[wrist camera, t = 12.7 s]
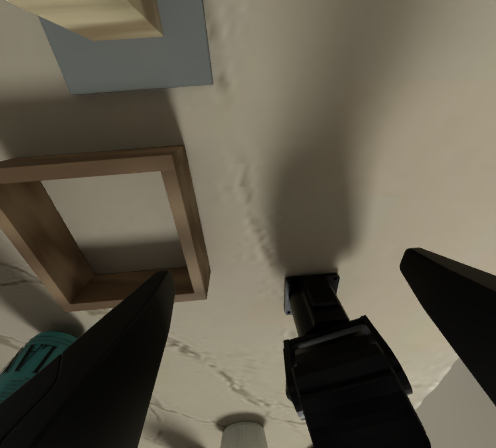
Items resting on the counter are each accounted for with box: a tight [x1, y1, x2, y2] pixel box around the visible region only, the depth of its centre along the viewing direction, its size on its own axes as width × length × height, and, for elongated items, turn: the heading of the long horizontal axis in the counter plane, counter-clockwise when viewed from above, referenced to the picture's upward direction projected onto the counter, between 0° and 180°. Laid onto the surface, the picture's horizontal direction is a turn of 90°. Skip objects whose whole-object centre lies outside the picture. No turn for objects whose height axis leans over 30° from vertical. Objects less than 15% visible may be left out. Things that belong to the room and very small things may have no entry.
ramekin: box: [220, 422, 268, 448], centre depth 46 cm, size 11×11×5 cm
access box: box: [0, 145, 211, 312], centre depth 19 cm, size 14×14×4 cm
